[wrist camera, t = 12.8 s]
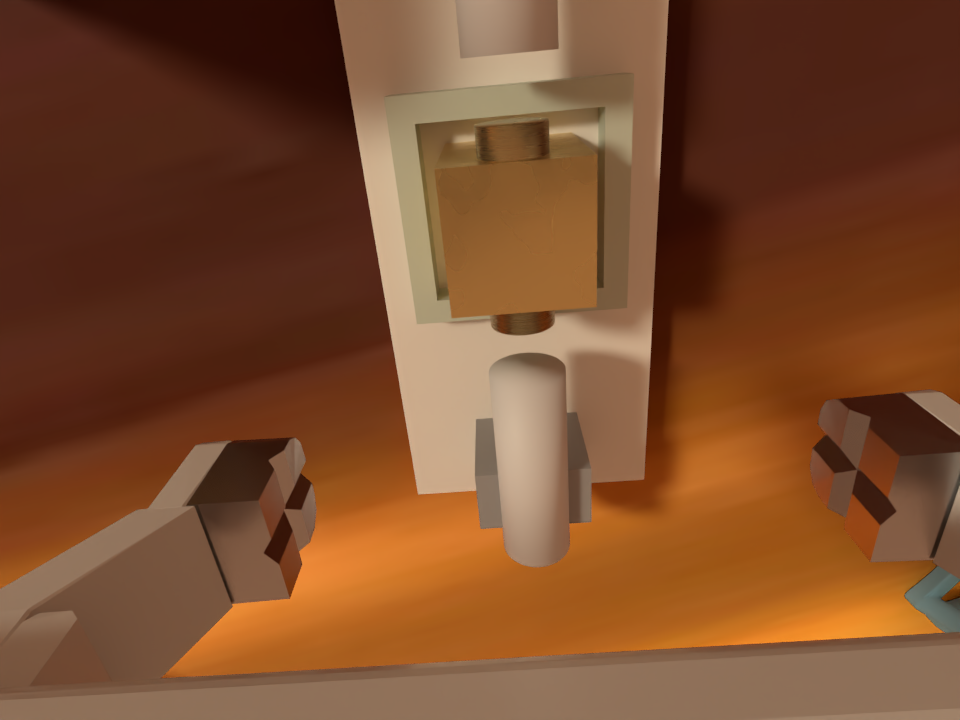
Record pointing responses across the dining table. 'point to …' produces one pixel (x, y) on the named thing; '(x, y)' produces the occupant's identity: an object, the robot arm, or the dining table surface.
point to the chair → (937, 600)
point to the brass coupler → (518, 224)
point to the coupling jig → (421, 263)
